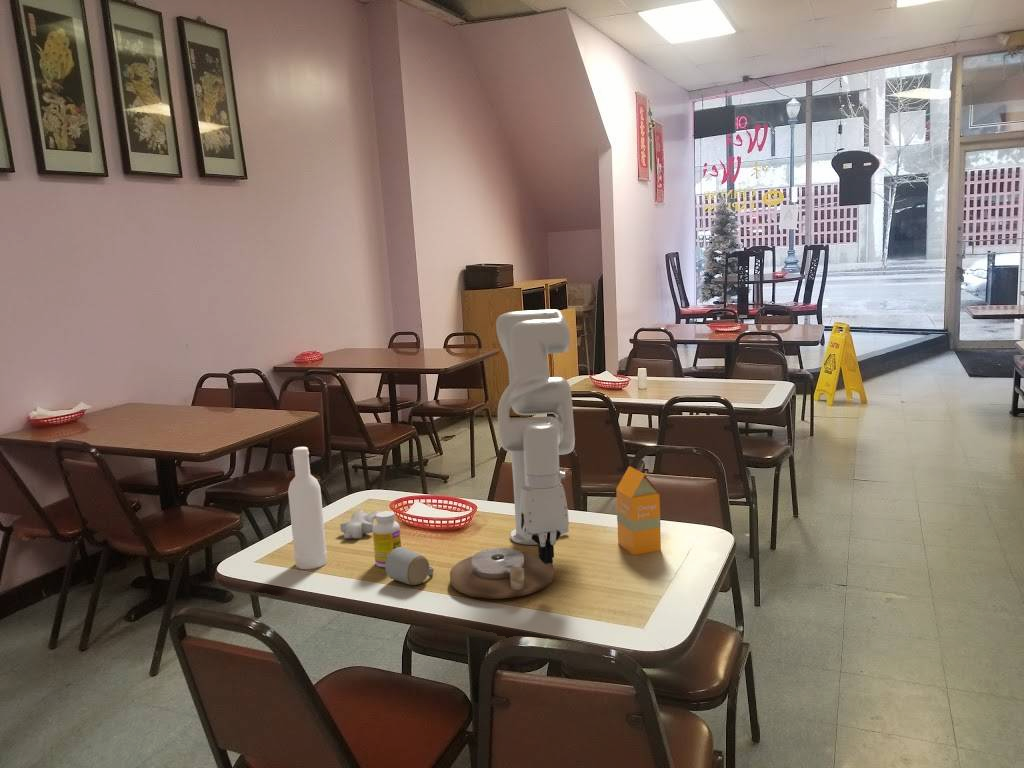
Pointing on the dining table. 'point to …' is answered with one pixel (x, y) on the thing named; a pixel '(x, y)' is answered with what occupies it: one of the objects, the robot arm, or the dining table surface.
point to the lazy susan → (518, 584)
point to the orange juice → (638, 513)
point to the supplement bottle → (385, 536)
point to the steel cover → (496, 563)
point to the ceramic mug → (407, 566)
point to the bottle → (306, 514)
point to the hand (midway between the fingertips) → (546, 561)
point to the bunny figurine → (358, 524)
